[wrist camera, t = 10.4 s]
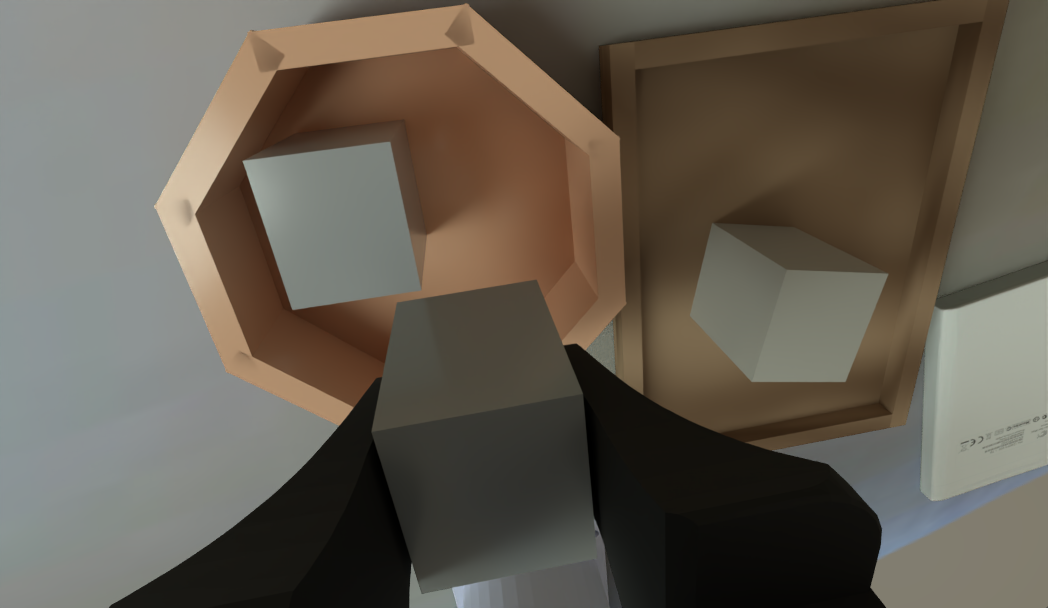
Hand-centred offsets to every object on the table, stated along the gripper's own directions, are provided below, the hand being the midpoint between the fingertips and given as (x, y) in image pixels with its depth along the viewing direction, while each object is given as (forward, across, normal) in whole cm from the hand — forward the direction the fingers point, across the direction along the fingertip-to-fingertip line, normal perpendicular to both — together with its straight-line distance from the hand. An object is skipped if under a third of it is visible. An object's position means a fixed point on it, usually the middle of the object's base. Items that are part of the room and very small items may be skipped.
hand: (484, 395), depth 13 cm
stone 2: (+2, 0, 0) cm, 2 cm away
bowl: (+9, +2, -2) cm, 9 cm away
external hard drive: (+9, -25, +11) cm, 29 cm away
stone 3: (+8, -11, +2) cm, 14 cm away
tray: (+9, -12, +2) cm, 15 cm away
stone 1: (+8, +3, -4) cm, 9 cm away
